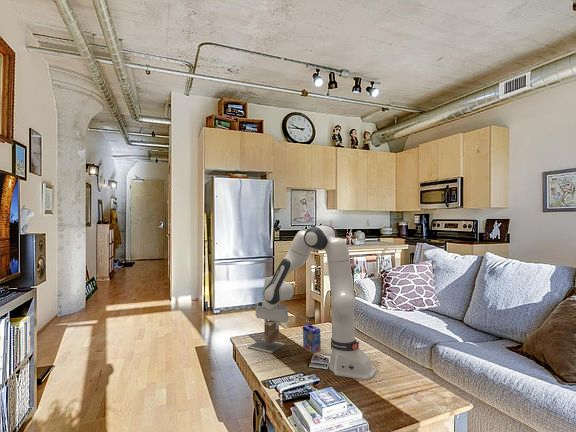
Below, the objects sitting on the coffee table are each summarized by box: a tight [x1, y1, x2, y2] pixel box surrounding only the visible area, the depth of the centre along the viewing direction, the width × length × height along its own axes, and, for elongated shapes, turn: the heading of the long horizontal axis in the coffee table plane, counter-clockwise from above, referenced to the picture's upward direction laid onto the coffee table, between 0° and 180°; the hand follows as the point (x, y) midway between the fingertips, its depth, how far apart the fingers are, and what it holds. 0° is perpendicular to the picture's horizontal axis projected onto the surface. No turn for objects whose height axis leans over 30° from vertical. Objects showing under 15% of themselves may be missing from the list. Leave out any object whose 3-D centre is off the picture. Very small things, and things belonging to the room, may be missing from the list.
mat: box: [247, 338, 285, 355], centre depth 189 cm, size 16×14×1 cm
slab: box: [263, 320, 280, 344], centre depth 187 cm, size 4×9×11 cm, turn 151°
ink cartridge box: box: [302, 322, 322, 353], centre depth 186 cm, size 10×6×14 cm, turn 35°
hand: (271, 327), depth 187 cm, fingers closed on slab, 4 cm apart
